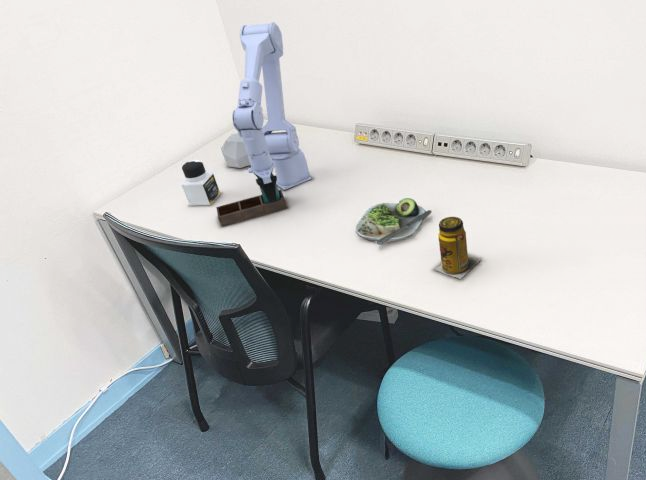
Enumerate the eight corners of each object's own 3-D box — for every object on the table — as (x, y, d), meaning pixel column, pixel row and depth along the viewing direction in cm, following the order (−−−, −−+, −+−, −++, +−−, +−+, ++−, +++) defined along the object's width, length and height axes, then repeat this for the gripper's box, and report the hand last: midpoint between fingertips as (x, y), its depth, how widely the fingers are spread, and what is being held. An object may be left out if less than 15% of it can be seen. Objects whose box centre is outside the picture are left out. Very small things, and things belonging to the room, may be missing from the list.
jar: (277, 196, 174) (269, 171, 170) (283, 202, 171) (276, 177, 166) (262, 202, 173) (254, 177, 168) (269, 208, 170) (261, 183, 165)
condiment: (434, 270, 138) (428, 225, 131) (455, 251, 143) (451, 207, 135) (460, 279, 134) (456, 234, 127) (481, 260, 139) (478, 215, 131)
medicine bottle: (210, 205, 179) (196, 168, 171) (189, 206, 180) (174, 169, 173) (220, 193, 184) (207, 157, 177) (199, 194, 186) (185, 158, 178)
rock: (228, 151, 209) (219, 124, 203) (285, 141, 209) (278, 114, 203) (222, 174, 194) (212, 146, 188) (283, 163, 195) (275, 135, 189)
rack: (283, 198, 176) (281, 189, 174) (287, 208, 171) (284, 199, 169) (219, 216, 173) (216, 207, 171) (221, 226, 168) (218, 217, 166)
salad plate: (410, 253, 145) (408, 237, 142) (344, 246, 151) (340, 230, 148) (436, 211, 158) (434, 195, 156) (374, 206, 165) (371, 191, 162)
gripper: (240, 145, 167) (253, 188, 176) (246, 165, 156) (260, 211, 164) (265, 138, 168) (277, 182, 177) (272, 158, 157) (286, 204, 166)
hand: (271, 195), depth 171 cm, fingers closed on jar, 5 cm apart
